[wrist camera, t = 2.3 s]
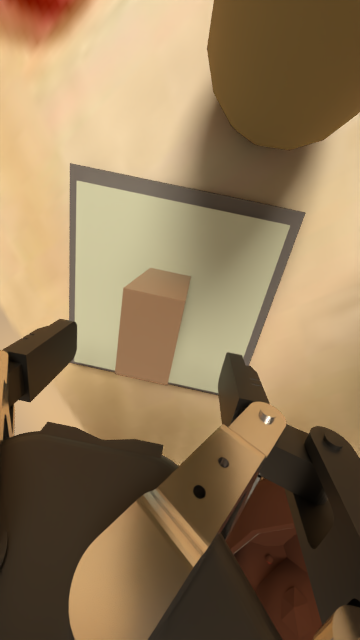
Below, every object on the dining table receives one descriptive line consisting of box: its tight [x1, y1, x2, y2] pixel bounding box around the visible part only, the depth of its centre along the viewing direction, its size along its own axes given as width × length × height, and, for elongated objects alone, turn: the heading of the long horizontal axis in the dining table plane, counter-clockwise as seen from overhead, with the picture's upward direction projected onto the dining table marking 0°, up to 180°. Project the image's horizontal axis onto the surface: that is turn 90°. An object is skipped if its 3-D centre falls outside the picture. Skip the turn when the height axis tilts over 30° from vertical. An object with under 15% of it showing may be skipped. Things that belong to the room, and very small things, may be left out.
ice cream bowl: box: [226, 478, 322, 640], centre depth 16 cm, size 11×11×15 cm
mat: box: [69, 163, 305, 395], centre depth 18 cm, size 16×16×1 cm
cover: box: [74, 181, 290, 393], centre depth 15 cm, size 14×14×7 cm
